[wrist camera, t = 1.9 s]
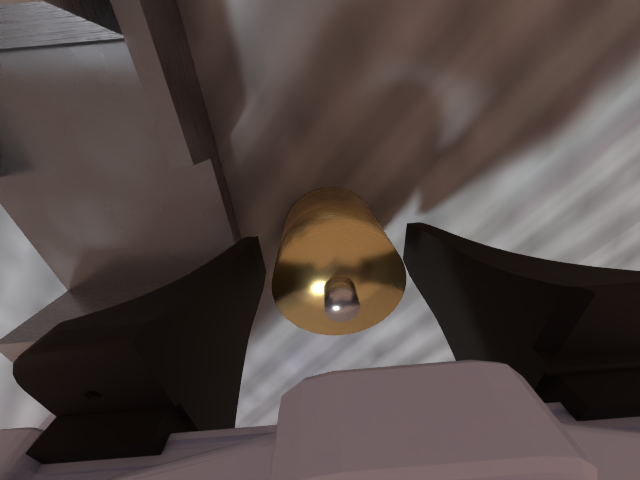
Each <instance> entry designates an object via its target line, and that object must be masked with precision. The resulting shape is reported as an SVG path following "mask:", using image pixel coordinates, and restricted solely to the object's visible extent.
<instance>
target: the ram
mask: <svg viewBox="0 0 640 480" xmlns="http://www.w3.org/2000/svg"><path fill="white" fill-rule="evenodd" d="M118 38H124V37H123V34H122V31H121V29H120V26H119V23H118V21H117V18H116V15H115V13H114V10H113V7H112V4H111V2H110V0H0V49H7V48H18V47H29V46H40V45H51V44H62V43H73V42H85V41H96V40H107V39H118Z"/></svg>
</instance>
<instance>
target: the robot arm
mask: <svg viewBox="0 0 640 480" xmlns="http://www.w3.org/2000/svg"><path fill="white" fill-rule="evenodd" d="M403 261H404V263H405V266H406V268H407V270H408V273H409V275H410V277H411V278H412V280H413V282H414V283H415V285H416V287H417V288H418V290H419V291H420V293H421V295H422V296H423V298H424V299H425V301H426V302H427V304H428V306H429V307H430V309H431V310H432V312H433V314H434V315H435V317H436V319H437V321H438V323H439V325H440V327H441V329H442V331H443V333H444V335H445V337H446V339H447V341H448V344H449V346H450V348H451V350H452V353H453V355H454V357H455V359H456V361H450V362H438V363H426V364H414V365H401V366H389V367H377V368H365V369H353V370H341V371H332V372H327V373H323V374H319V375H315V376H311V377H307V378H305V379H303V380H302V381H301V382H299V383H298V384H297V385H296V386H294V387H293V388H292V389H290V390H289V391H288V392H286V393H285V394H284V395H283V396H282V398H281V403H280V408H279V414H278V423H277V425H269V426H257V427H245V428H235V421H236V413H237V405H238V398H239V391H240V385H241V378H242V372H243V366H244V360H245V355H246V350H247V344H248V339H249V335H250V331H251V327H252V324H253V321H254V317H255V314H256V311H257V308H258V305H259V301H260V298H261V295H262V291H263V288H264V281H265V274H266V269H265V265H264V261H263V256H262V252H261V248H260V244H259V239H258V236H256V237H245V238H243V239H241V240H240V241H238V242H237V243H235V244H234V245H232V246H231V247H230V248H228V249H227V250H225V251H224V252H222V253H221V254H220V255H218V256H217V257H215V258H214V259H212V260H211V261H209V262H207V263H206V264H204V265H203V266H201V267H200V268H198V269H196V270H195V271H193V272H191V273H189V274H187V275H185V276H184V277H182V278H180V279H178V280H176V281H174V282H172V283H170V284H167V285H165V286H163V287H161V288H158V289H156V290H154V291H152V292H149V293H147V294H145V295H142V296H139V297H137V298H134V299H132V300H129V301H126V302H124V303H121V304H118V305H115V306H112V307H109V308H106V309H103V310H100V311H97V312H93V313H90V314H87V315H84V316H80V317H77V318H74V319H70V320H67V321H63V322H61V323H59V324H57V325H56V326H55V327H53V328H52V329H51V330H50V331H48V332H47V333H46V334H45V335H44V336H42V337H41V338H40V339H39V340H38V341H36V342H35V343H34V344H33V345H31V346H30V347H29V348H28V349H27V350H25V351H24V352H23V353H22V354H20V355H19V356H18V358H17V359H16V360H15V361H14V363H13V376H14V378H15V380H16V382H17V383H18V384H19V385H20V387H21V388H22V389H23V390H24V391H26V392H27V393H28V394H29V395H30V396H32V397H33V398H34V399H35V400H37V401H38V402H39V403H40V404H41V405H43V406H44V407H45V408H46V409H48V410H49V411H50V412H51V414H50V415H49V416H48V417H47V418H46V419H45V420H44V422H43V423H42V424H41V425H40V426H39V427H38V428H15V429H2V430H0V480H640V271H632V270H622V269H611V268H601V267H592V266H585V265H578V264H570V263H563V262H557V261H551V260H546V259H541V258H535V257H530V256H525V255H521V254H516V253H512V252H508V251H504V250H501V249H497V248H493V247H490V246H486V245H483V244H480V243H477V242H474V241H471V240H468V239H465V238H463V237H460V236H457V235H454V234H452V233H449V232H447V231H444V230H441V229H439V228H436V227H433V226H431V225H428V224H424V223H420V222H419V223H407V228H406V237H405V246H404V255H403Z"/></svg>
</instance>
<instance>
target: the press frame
mask: <svg viewBox="0 0 640 480" xmlns="http://www.w3.org/2000/svg"><path fill="white" fill-rule="evenodd" d="M110 2H111V4H112V7H113V10H114V13H115V15H116V18H117V21H118V23H119V26H120V29H121V31H122V34H123V37H124V38H118V39H107V40H96V41H85V42H73V43H62V44H51V45H40V46H29V47H18V48H7V49H0V204H1V205H2V206H3V207H4V209H5V210H6V211H7V213H8V214H9V215H10V217H11V218H12V219H13V220H14V222H15V223H16V224H17V226H18V227H19V228H20V229H21V231H22V232H23V233H24V235H25V236H26V237H27V238H28V240H29V241H30V242H31V244H32V245H33V246H34V247H35V249H36V250H37V251H38V253H39V254H40V255H41V256H42V258H43V259H44V260H45V262H46V263H47V264H48V266H49V267H50V268H51V269H52V271H53V272H54V273H55V275H56V276H57V277H58V278H59V280H60V281H61V282H62V284H63V285H64V286H65V287H66V289H67V290H68V291H67V292H66V293H64V294H63V295H62V296H60V297H59V298H57V299H56V300H55V301H53V302H52V303H50V304H49V305H48V306H46V307H45V308H43V309H42V310H41V311H39V312H38V313H37V314H35V315H34V316H32V317H31V318H30V319H28V320H27V321H25V322H24V323H23V324H21V325H20V326H18V327H17V328H16V329H14V330H13V331H11V332H10V333H9V334H7V335H6V336H4V337H3V338H2V339H0V352H1V353H2V354H3V355H4V356H5V357H7V358H8V359H9V360H10V361H11V362H12V363H13V362H14V361H15V360H16V359H17V358H18V356H19V355H20V354H22V353H23V352H24V351H25V350H27V349H28V348H29V347H30V346H31V345H33V344H34V343H35V342H36V341H38V340H39V339H40V338H41V337H42V336H44V335H45V334H46V333H47V332H48V331H50V330H51V329H52V328H53V327H55V326H56V325H57V324H59V323H61V322H63V321H67V320H70V319H74V318H77V317H80V316H84V315H87V314H90V313H93V312H97V311H100V310H103V309H106V308H109V307H112V306H115V305H118V304H121V303H124V302H126V301H129V300H132V299H134V298H137V297H139V296H142V295H145V294H147V293H149V292H152V291H154V290H156V289H158V288H161V287H163V286H165V285H167V284H170V283H172V282H174V281H176V280H178V279H180V278H182V277H184V276H185V275H187V274H189V273H191V272H193V271H195V270H196V269H198V268H200V267H201V266H203V265H204V264H206V263H207V262H209V261H211V260H212V259H214V258H215V257H217V256H218V255H220V254H221V253H222V252H224V251H225V250H227V249H228V248H230V247H231V246H232V245H234V244H235V243H237V242H238V241H240V240H241V236H240V232H239V229H238V225H237V221H236V218H235V214H234V211H233V207H232V203H231V200H230V196H229V192H228V189H227V185H226V181H225V178H224V174H223V170H222V167H221V163H220V159H219V156H218V152H217V148H216V145H215V141H214V137H213V134H212V130H211V127H210V123H209V119H208V116H207V112H206V108H205V105H204V101H203V97H202V94H201V90H200V86H199V83H198V79H197V75H196V72H195V68H194V64H193V61H192V57H191V53H190V50H189V46H188V42H187V39H186V35H185V32H184V28H183V24H182V21H181V17H180V13H179V10H178V6H177V2H176V0H110Z"/></svg>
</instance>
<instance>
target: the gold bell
mask: <svg viewBox="0 0 640 480" xmlns="http://www.w3.org/2000/svg"><path fill="white" fill-rule="evenodd" d="M405 286H406V270H405V267H404V263H403V261H402V259H401V257H400V255H399V254H398V252H397V251H396V249H395V248H394V246H393V245H392V243H391V241H390V240H389V238H388V237H387V235H386V234H385V232H384V231H383V229H382V228H381V226H380V224H379V223H378V221H377V220H376V218H375V217H374V215H373V214H372V212H371V210H370V209H369V207H368V206H367V204H366V203H365V202H364V201H363V200H362V199H361V198H360V197H359V196H357V195H356V194H354V193H352V192H350V191H348V190H345V189H341V188H335V187H327V188H320V189H317V190H314V191H311V192H309V193H307V194H306V195H304V196H302V197H301V198H300V199H299V200H298V201H297V202H296V203H295V204H294V205H293V207H292V208H291V210H290V211H289V213H288V216H287V219H286V223H285V227H284V231H283V235H282V240H281V244H280V248H279V252H278V256H277V261H276V265H275V269H274V273H273V278H272V294H273V298H274V301H275V303H276V305H277V307H278V309H279V310H280V311H281V313H282V314H283V315H284V316H285V317H286V318H287V319H288V320H289V321H291V322H292V323H293V324H295V325H297V326H298V327H300V328H302V329H304V330H307V331H310V332H314V333H318V334H324V335H345V334H351V333H356V332H359V331H362V330H365V329H367V328H370V327H372V326H374V325H376V324H377V323H379V322H380V321H382V320H383V319H385V318H386V317H387V316H388V315H389V314H390V313H391V312H392V311H393V310H394V309H395V308H396V306H397V305H398V304H399V302H400V300H401V298H402V296H403V293H404V291H405Z"/></svg>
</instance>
